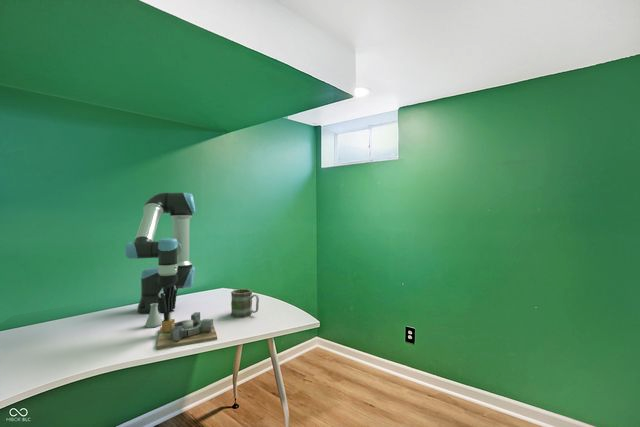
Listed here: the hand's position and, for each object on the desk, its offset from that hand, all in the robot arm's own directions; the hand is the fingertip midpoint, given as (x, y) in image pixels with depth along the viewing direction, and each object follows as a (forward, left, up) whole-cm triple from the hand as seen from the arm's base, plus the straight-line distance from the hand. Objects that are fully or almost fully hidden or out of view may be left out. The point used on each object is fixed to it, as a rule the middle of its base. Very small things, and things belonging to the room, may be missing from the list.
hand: (167, 327), depth 131 cm
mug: (-10, +36, -3) cm, 37 cm away
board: (+5, +8, -3) cm, 10 cm away
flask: (-14, -6, -3) cm, 15 cm away
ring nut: (+5, +8, -1) cm, 10 cm away
